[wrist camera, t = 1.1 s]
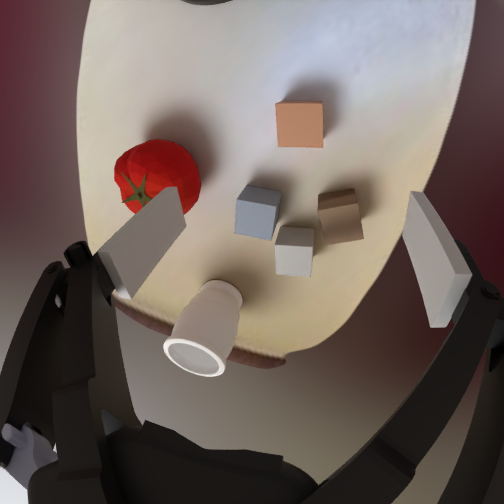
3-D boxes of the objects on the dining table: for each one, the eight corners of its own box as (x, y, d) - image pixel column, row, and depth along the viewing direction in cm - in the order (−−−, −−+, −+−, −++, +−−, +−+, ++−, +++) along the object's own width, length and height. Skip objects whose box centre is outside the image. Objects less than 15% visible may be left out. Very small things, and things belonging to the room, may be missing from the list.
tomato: (155, 117, 34) (110, 132, 26) (226, 161, 36) (195, 188, 28) (131, 175, 41) (91, 202, 33) (192, 216, 43) (161, 253, 35)
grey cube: (280, 226, 40) (274, 244, 36) (314, 228, 39) (312, 247, 35) (281, 254, 43) (275, 274, 39) (313, 256, 42) (310, 276, 38)
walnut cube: (318, 194, 36) (317, 210, 32) (353, 188, 34) (357, 203, 30) (326, 226, 38) (326, 245, 34) (359, 220, 36) (363, 238, 32)
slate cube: (246, 185, 38) (236, 199, 34) (281, 191, 37) (276, 206, 33) (243, 216, 41) (234, 233, 37) (277, 222, 40) (271, 240, 36)
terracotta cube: (281, 101, 30) (275, 103, 26) (322, 101, 29) (322, 103, 25) (283, 138, 33) (278, 146, 29) (323, 139, 31) (323, 147, 28)
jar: (228, 321, 56) (204, 382, 44) (187, 293, 54) (154, 351, 42) (259, 298, 49) (237, 367, 38) (213, 264, 47) (178, 329, 36)
